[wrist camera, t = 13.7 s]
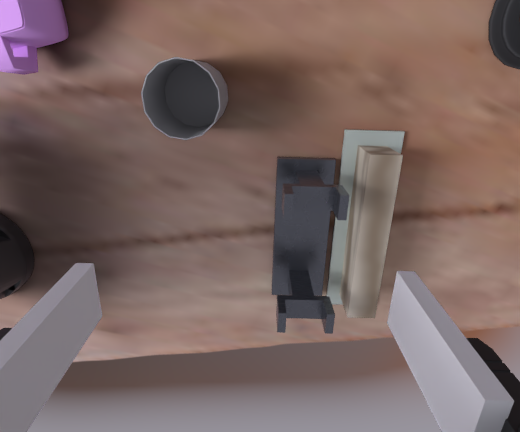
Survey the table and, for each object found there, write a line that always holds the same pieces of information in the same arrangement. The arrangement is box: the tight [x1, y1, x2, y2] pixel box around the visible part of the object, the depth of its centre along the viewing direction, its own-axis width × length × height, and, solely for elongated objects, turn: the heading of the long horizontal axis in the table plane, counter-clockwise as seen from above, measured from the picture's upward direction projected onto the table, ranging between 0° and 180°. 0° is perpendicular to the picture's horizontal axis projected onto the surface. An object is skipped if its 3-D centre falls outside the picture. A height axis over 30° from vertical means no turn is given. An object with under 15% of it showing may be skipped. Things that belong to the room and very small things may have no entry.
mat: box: [326, 129, 405, 304], centre depth 54 cm, size 8×28×1 cm, turn 179°
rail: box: [339, 145, 403, 318], centre depth 51 cm, size 4×24×6 cm, turn 179°
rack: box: [272, 157, 349, 333], centre depth 49 cm, size 8×22×12 cm, turn 179°
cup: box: [141, 57, 228, 140], centre depth 43 cm, size 8×8×10 cm
